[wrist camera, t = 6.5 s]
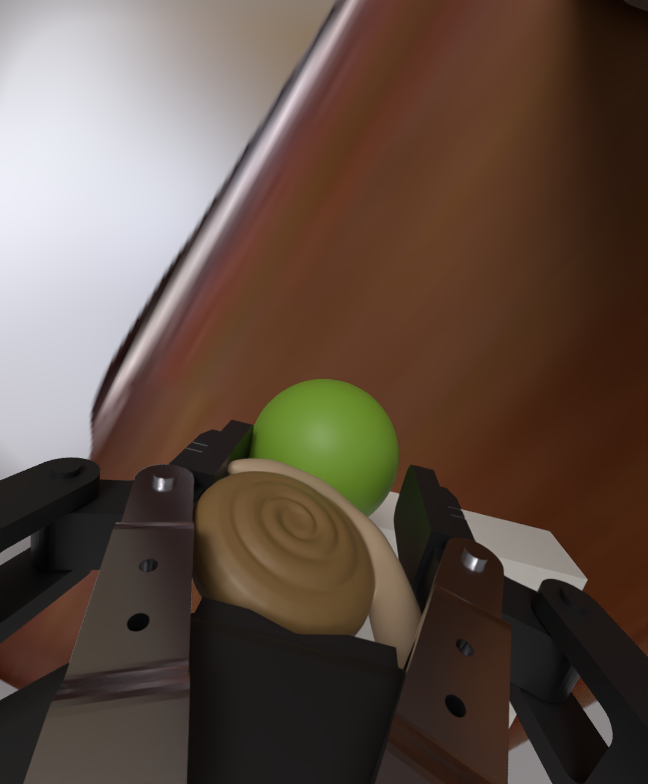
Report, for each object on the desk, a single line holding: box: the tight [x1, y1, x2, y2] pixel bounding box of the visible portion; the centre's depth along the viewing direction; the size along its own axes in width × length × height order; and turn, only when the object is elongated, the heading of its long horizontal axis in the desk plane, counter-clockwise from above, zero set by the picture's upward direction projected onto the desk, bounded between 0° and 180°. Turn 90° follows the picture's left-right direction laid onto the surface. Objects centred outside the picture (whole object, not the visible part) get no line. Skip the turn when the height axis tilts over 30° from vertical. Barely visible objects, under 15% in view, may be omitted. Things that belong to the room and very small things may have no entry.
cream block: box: [355, 492, 588, 728], centre depth 27 cm, size 16×16×5 cm
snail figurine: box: [192, 379, 422, 669], centre depth 11 cm, size 5×6×12 cm
